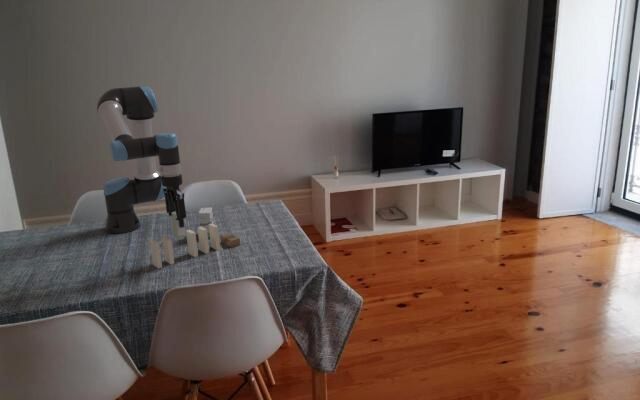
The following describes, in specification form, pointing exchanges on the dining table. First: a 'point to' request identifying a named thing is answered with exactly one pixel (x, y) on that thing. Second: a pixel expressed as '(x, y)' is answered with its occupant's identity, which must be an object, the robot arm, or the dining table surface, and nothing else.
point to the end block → (230, 240)
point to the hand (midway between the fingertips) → (178, 232)
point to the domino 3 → (176, 226)
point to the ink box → (206, 218)
